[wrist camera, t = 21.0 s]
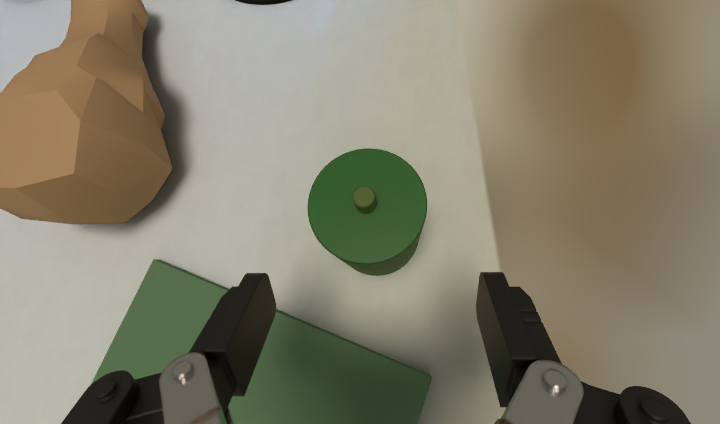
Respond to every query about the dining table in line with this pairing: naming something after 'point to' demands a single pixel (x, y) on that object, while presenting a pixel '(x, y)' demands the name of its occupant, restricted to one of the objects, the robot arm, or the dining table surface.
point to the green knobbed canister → (368, 210)
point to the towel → (267, 360)
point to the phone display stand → (262, 1)
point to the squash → (84, 123)
